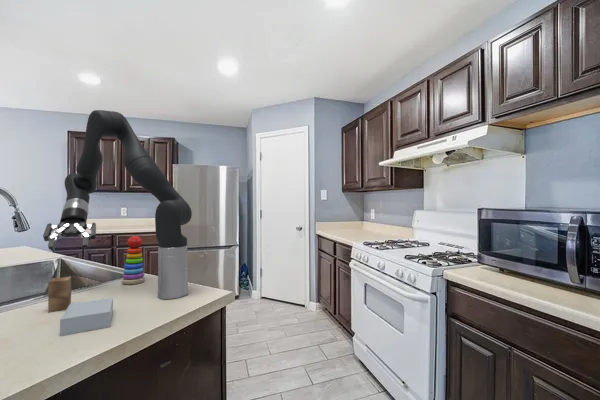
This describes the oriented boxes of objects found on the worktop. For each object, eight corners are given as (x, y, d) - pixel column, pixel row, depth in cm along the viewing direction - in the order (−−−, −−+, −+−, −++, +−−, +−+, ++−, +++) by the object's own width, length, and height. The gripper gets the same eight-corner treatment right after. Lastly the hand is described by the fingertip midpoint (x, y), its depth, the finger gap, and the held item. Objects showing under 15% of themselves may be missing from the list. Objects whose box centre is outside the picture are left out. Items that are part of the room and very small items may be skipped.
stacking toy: (119, 286, 107) (120, 237, 107) (123, 280, 115) (124, 235, 115) (143, 284, 110) (143, 236, 111) (145, 278, 118) (146, 234, 118)
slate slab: (112, 311, 83) (113, 297, 83) (109, 326, 73) (109, 311, 73) (70, 317, 78) (70, 303, 78) (59, 335, 68) (60, 319, 68)
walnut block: (70, 305, 88) (71, 276, 88) (67, 309, 84) (68, 280, 84) (52, 307, 86) (52, 278, 86) (48, 312, 82) (48, 282, 82)
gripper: (48, 206, 99) (38, 243, 89) (97, 206, 106) (93, 240, 96) (52, 220, 104) (42, 256, 94) (99, 219, 111) (94, 253, 101)
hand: (68, 248), depth 95 cm, fingers open, 8 cm apart
